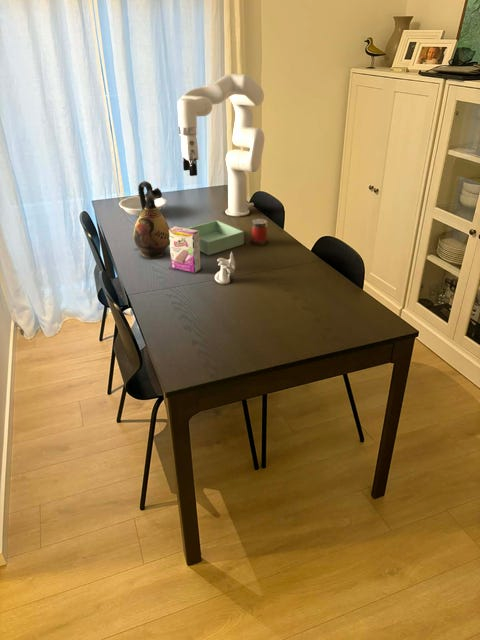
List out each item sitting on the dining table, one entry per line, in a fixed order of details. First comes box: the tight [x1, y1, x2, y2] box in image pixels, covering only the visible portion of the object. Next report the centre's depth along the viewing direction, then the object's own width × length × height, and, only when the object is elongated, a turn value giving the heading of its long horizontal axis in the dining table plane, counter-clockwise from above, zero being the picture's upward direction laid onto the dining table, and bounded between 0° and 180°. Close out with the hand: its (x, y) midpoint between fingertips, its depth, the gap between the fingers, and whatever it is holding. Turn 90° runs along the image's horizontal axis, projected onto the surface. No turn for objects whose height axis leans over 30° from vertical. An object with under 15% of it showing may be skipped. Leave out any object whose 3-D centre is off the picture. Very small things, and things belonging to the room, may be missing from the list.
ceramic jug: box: [132, 180, 170, 259], centre depth 201 cm, size 17×15×30 cm
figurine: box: [214, 251, 236, 285], centre depth 182 cm, size 11×8×12 cm
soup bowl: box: [118, 195, 168, 218], centre depth 250 cm, size 24×24×7 cm
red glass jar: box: [251, 218, 268, 246], centre depth 217 cm, size 7×7×10 cm
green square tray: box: [187, 219, 245, 256], centre depth 218 cm, size 20×20×6 cm
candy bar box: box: [169, 225, 202, 274], centre depth 192 cm, size 11×5×16 cm, turn 65°
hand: (190, 172), depth 212 cm, fingers open, 9 cm apart
